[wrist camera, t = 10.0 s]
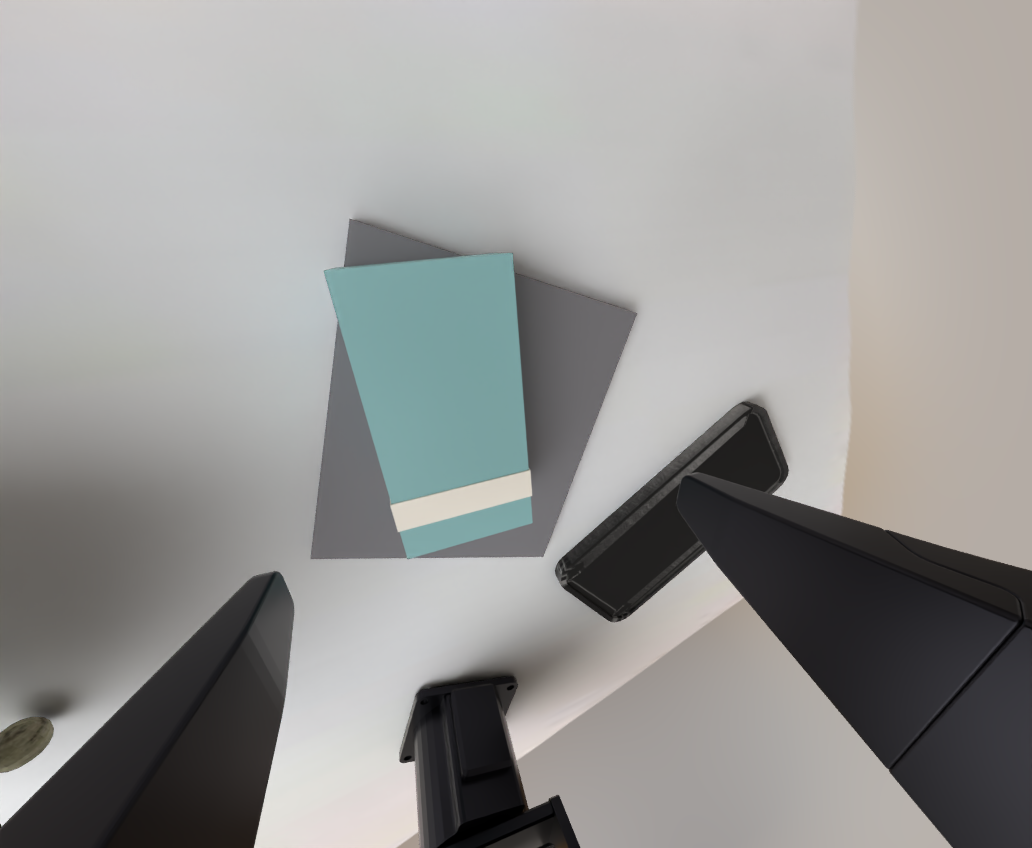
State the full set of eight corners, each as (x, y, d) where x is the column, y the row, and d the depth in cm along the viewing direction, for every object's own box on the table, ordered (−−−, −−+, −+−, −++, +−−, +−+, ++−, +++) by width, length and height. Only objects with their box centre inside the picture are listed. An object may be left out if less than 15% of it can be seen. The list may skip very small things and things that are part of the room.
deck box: (534, 523, 15) (514, 252, 10) (406, 560, 13) (320, 270, 9) (515, 489, 17) (492, 253, 12) (403, 518, 16) (333, 267, 11)
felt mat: (539, 549, 20) (543, 556, 19) (312, 550, 15) (310, 558, 15) (630, 311, 16) (637, 313, 15) (350, 219, 11) (349, 218, 11)
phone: (553, 580, 20) (762, 398, 19) (545, 565, 21) (743, 391, 20) (617, 627, 24) (793, 478, 23) (608, 612, 25) (776, 469, 24)
